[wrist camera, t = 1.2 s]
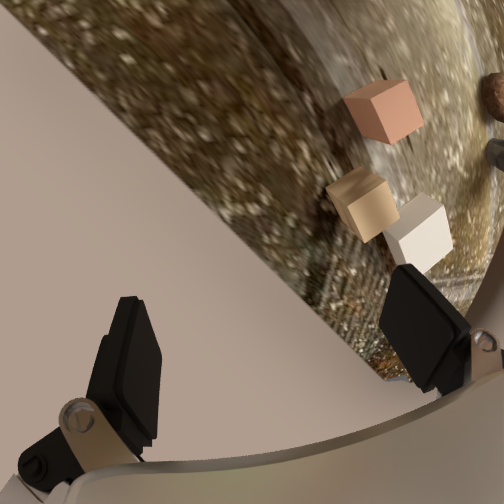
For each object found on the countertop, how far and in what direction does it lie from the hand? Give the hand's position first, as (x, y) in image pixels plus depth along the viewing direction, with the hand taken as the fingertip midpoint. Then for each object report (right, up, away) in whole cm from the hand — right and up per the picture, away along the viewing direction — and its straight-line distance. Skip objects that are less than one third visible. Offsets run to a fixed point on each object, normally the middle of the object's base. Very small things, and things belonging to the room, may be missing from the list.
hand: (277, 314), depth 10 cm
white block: (+21, +5, +26) cm, 34 cm away
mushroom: (+36, +27, +17) cm, 48 cm away
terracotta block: (+12, +18, +17) cm, 28 cm away
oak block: (+11, +9, +22) cm, 26 cm away
